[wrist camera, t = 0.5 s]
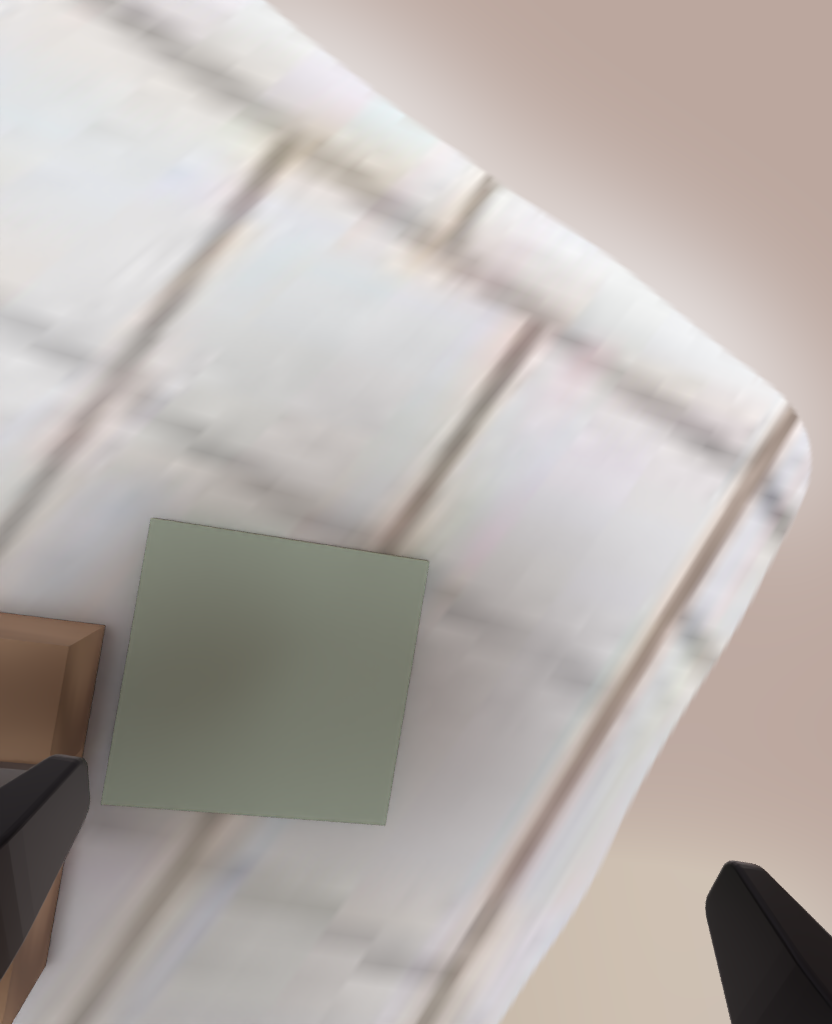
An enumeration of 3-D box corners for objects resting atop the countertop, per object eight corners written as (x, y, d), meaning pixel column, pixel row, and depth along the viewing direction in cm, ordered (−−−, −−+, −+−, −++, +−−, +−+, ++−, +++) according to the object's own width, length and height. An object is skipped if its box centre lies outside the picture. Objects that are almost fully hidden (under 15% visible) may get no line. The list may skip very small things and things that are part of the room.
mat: (383, 817, 22) (385, 825, 21) (105, 797, 20) (100, 804, 20) (426, 560, 22) (429, 561, 22) (154, 517, 20) (151, 518, 20)
